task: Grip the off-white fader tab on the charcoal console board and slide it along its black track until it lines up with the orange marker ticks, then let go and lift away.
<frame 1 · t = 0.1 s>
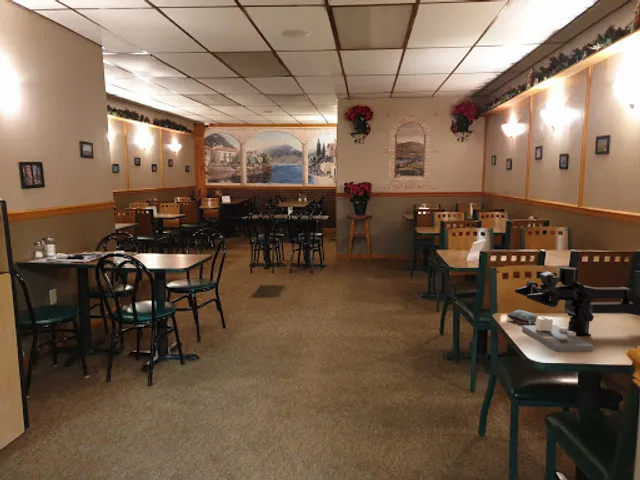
hand: (520, 293, 187), 17 cm above the table, fingers open, 9 cm apart
console: (555, 339, 183), on the table
fader: (544, 323, 188), point 5 cm above the table, slide at 0.0 cm
packaged food: (524, 322, 206), on the table
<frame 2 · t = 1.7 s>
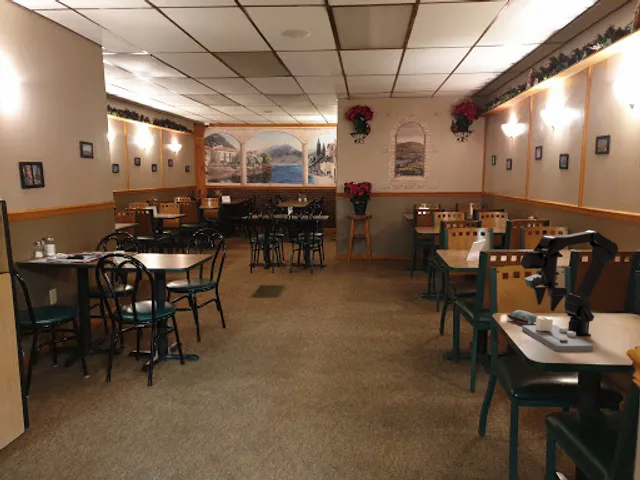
hand: (545, 307, 187), 11 cm above the table, fingers open, 9 cm apart
nothing on the table moved.
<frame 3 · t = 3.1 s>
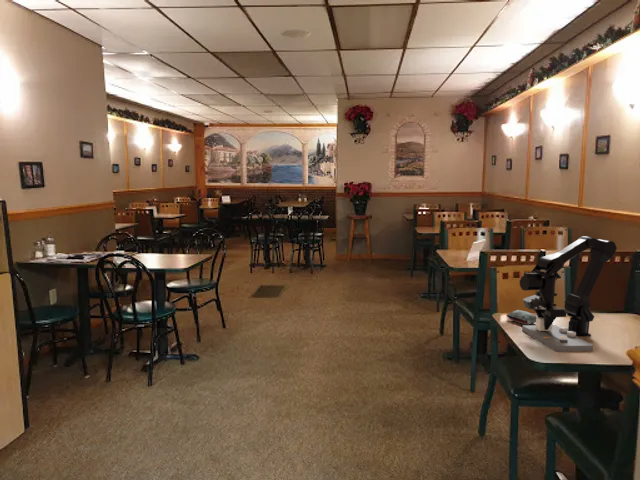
hand: (543, 328, 188), 3 cm above the table, fingers closed on fader, 3 cm apart
fader: (544, 323, 188), point 5 cm above the table, slide at 0.0 cm, touching gripper
everything else where it was.
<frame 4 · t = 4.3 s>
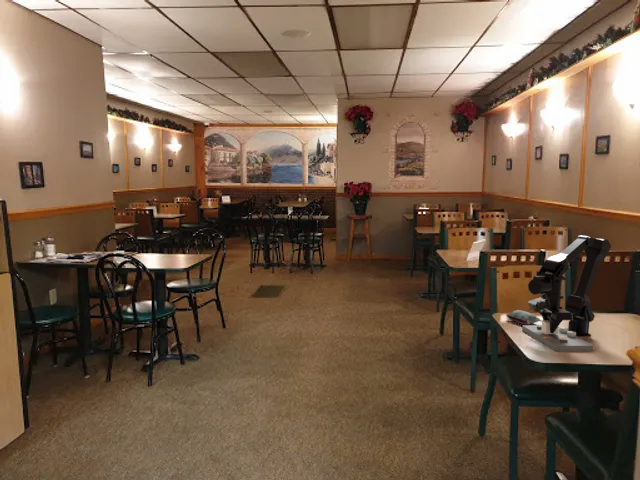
hand: (549, 331, 184), 3 cm above the table, fingers closed on fader, 3 cm apart
fader: (549, 327, 184), point 5 cm above the table, slide at 4.0 cm, touching gripper
everything else where it was.
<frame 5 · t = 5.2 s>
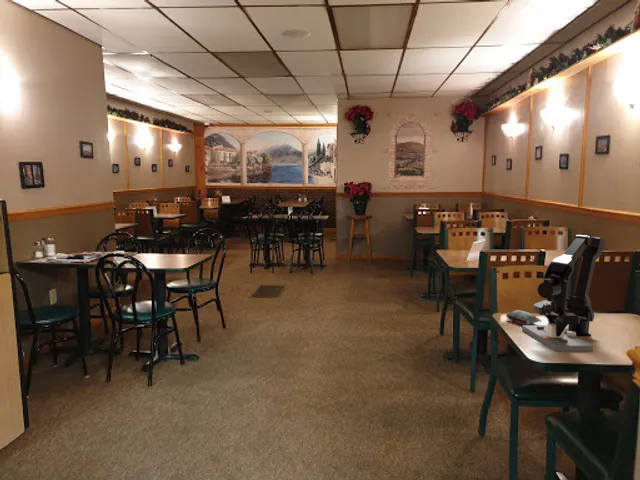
hand: (555, 334, 180), 3 cm above the table, fingers closed on fader, 3 cm apart
fader: (555, 330, 180), point 5 cm above the table, slide at 7.9 cm, touching gripper
everything else where it was.
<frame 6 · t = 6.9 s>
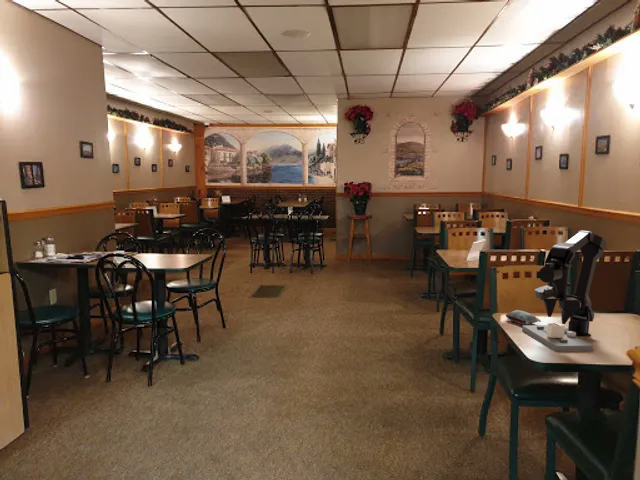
hand: (556, 320, 179), 9 cm above the table, fingers open, 9 cm apart
fader: (555, 330, 180), point 5 cm above the table, slide at 8.0 cm
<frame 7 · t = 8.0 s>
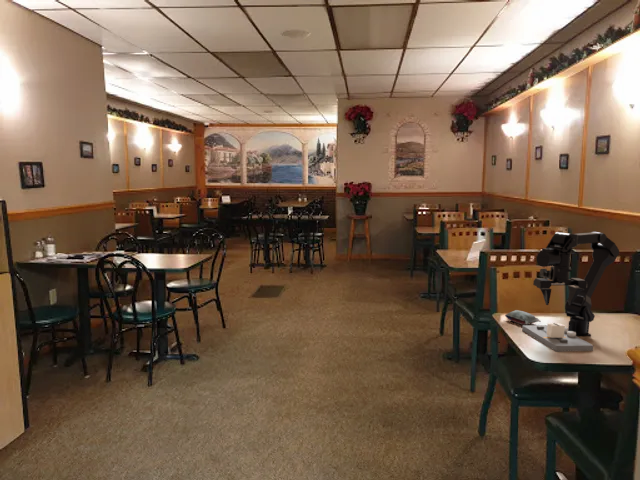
hand: (558, 304, 185), 13 cm above the table, fingers open, 9 cm apart
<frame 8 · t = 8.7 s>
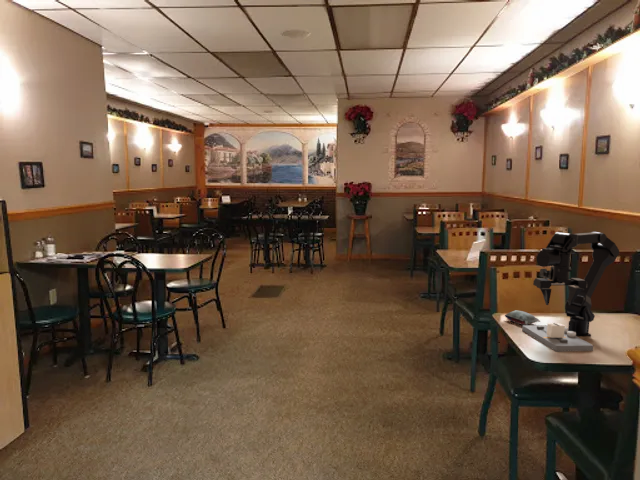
hand: (558, 304, 185), 13 cm above the table, fingers open, 9 cm apart
at the end: fader slide at 8.0 cm; the gripper is holding nothing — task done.
